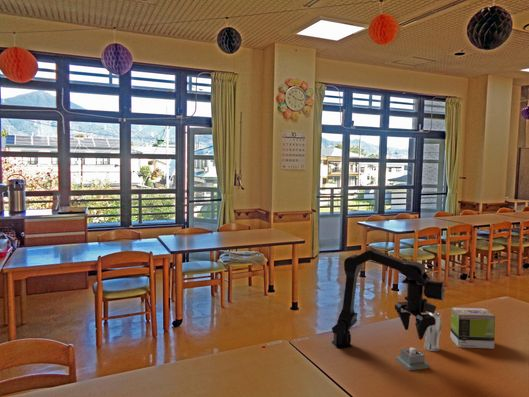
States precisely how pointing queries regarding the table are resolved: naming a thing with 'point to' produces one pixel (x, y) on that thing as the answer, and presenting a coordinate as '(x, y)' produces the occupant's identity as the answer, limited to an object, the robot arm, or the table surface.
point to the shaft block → (412, 367)
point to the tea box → (472, 327)
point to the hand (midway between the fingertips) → (413, 334)
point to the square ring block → (412, 357)
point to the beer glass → (433, 333)
